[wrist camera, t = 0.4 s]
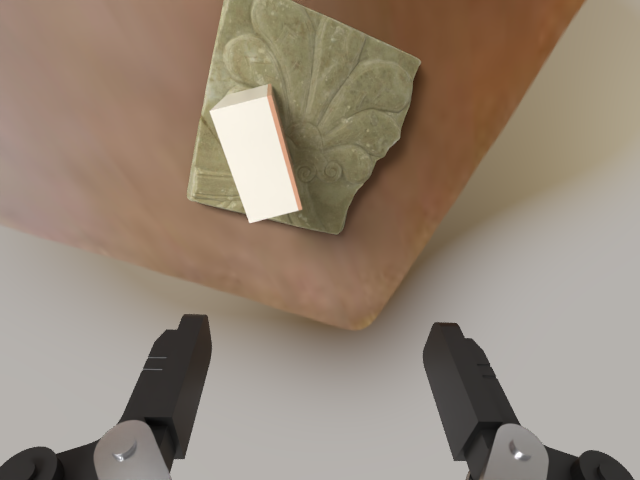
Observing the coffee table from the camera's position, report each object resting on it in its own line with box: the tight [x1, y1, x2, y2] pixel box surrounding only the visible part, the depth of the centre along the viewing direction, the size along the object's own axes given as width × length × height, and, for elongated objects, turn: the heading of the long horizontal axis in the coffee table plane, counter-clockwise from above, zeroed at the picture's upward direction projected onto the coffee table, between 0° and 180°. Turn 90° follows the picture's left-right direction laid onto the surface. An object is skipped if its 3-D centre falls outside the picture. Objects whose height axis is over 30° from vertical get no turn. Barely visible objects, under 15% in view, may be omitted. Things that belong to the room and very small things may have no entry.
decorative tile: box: [187, 0, 421, 235], centre depth 35 cm, size 19×20×4 cm
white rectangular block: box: [210, 84, 302, 223], centre depth 28 cm, size 8×4×10 cm, turn 13°
